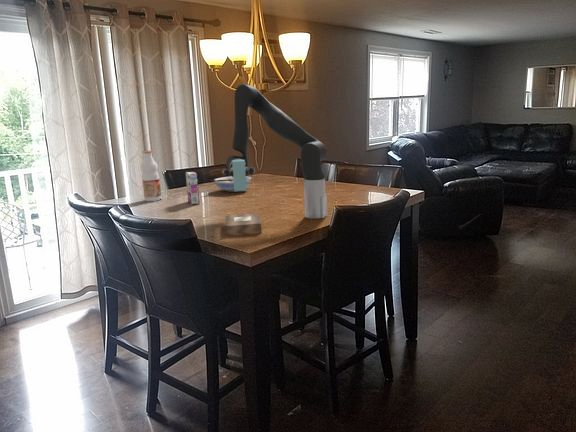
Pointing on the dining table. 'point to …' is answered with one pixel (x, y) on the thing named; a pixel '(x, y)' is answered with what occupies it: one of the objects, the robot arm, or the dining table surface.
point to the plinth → (243, 224)
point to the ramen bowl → (228, 183)
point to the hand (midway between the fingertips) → (239, 173)
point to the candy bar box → (192, 188)
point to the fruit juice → (150, 178)
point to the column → (239, 175)
